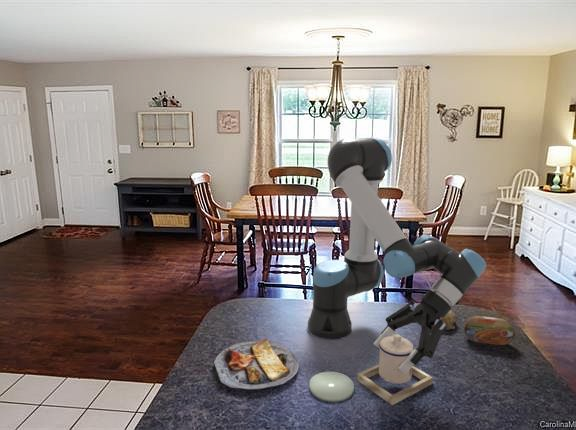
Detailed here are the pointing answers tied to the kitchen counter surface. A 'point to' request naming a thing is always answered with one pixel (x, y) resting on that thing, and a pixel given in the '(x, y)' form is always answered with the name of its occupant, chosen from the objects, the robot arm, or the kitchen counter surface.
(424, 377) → the wooden frame
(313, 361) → the kitchen counter surface
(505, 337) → the tin
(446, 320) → the bread roll
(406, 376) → the teacup with lid
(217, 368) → the food plate
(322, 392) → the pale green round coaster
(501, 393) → the kitchen counter surface
